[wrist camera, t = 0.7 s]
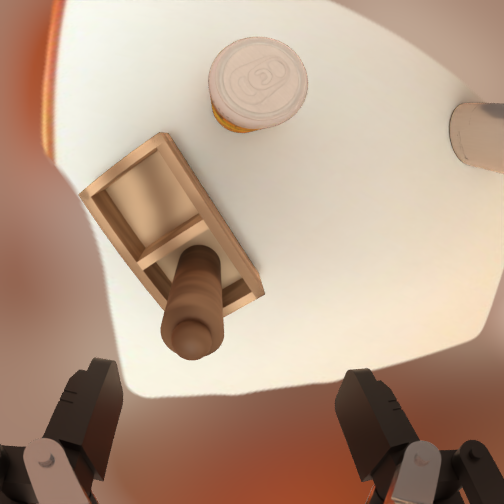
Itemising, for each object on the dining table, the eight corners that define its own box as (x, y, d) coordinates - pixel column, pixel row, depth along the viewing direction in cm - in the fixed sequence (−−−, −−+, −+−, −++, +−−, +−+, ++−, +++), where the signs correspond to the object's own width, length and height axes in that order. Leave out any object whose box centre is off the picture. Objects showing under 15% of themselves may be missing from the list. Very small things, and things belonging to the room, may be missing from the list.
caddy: (168, 133, 29) (122, 128, 14) (258, 273, 36) (287, 365, 21) (96, 186, 30) (14, 227, 15) (189, 313, 37) (179, 413, 22)
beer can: (200, 99, 28) (186, 65, 14) (249, 68, 28) (274, 15, 14) (234, 144, 30) (248, 147, 17) (281, 113, 30) (332, 94, 16)
